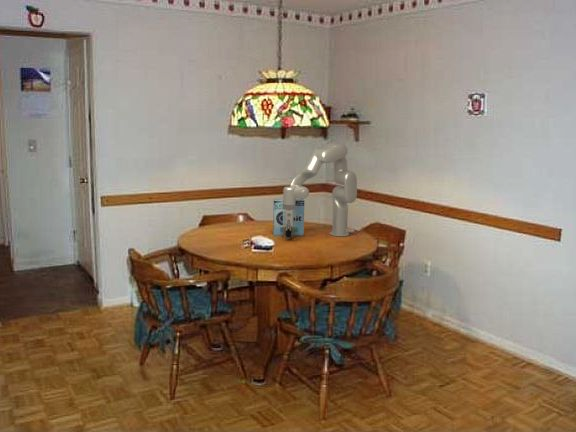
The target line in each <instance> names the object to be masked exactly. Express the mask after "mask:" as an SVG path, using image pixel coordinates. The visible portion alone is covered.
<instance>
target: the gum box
mask: <svg viewBox="0 0 576 432" xmlns="http://www.w3.org/2000/svg"><path fill="white" fill-rule="evenodd" d="M272 224H273V226H272V227H273V228H272V229H273V233H272V234H273V236H274V237H275V236H277V237H279V236H280V237H281V236H282V237H283V229H284V227H286V226H285V210H283V198H282V199H278V198H277V199H273V223H272ZM291 227H292V226H291ZM304 234H305V198H304V199H298V198H296V204H295V210H294V222H293V236H305V235H304Z"/></svg>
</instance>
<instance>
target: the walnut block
mask: <svg viewBox="0 0 576 432" xmlns="http://www.w3.org/2000/svg"><path fill="white" fill-rule="evenodd" d="M282 239H283V240H293V239H294V235H293V227H291V237H286V227H284V229H283V236H282Z"/></svg>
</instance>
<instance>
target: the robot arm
mask: <svg viewBox="0 0 576 432" xmlns="http://www.w3.org/2000/svg"><path fill="white" fill-rule="evenodd" d="M348 153H349V152H348V147H347V146H346V145H345V144H342V143H335V142H329V143H327V144H325V145H324V148H315V149H314V150H313V151H312V153H311V155H310V157H309V159H308V160H307V163H306V165H305V167H304V168H303V169H302V170H301V171H300V172H298V174H297V175H295V177H294V178H293V180H292V181H291V183H290V185H289V186H285V187H283V189H282V193H283V197H282V199H283V210H285V226H286V237H291V226H292V227H293V222H294V210H295V204H296V199H304V200H305V199H307V198H308V197H309V194H310V190H309V188H307V187H305V186H304V183H305V182H306V181H308V180H309V179H312V178H314V177H315V176H317V175H318V173H319V171H320V169H321V168H322V165H323V164H331V163H333V180H334V182H335V183H336V184H337V186H335V187H334V188H333V189H332V191H331V196H332V204H333V205H332V227H331V229H332V230H331V231H330V232H329V235H331V236H333V237H348V236H349V235H350V233H355V229H354V228H353V229H352V228H348V217H349V215H348V213H349V205H348V204H352V203H354V202H355V201H356V199H357V196H358V179H357V175H356V173H355V172H354V171H353V170H349V169H348V162H347V161H348V160H347V158H346V156H347V154H348ZM302 185H303V186H302Z"/></svg>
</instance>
